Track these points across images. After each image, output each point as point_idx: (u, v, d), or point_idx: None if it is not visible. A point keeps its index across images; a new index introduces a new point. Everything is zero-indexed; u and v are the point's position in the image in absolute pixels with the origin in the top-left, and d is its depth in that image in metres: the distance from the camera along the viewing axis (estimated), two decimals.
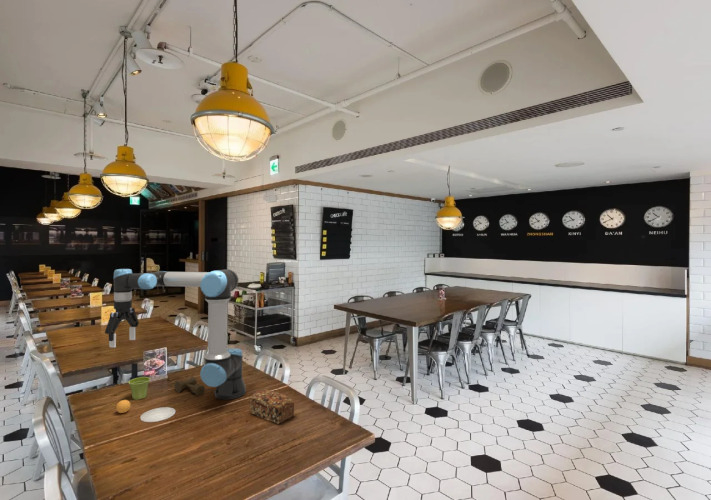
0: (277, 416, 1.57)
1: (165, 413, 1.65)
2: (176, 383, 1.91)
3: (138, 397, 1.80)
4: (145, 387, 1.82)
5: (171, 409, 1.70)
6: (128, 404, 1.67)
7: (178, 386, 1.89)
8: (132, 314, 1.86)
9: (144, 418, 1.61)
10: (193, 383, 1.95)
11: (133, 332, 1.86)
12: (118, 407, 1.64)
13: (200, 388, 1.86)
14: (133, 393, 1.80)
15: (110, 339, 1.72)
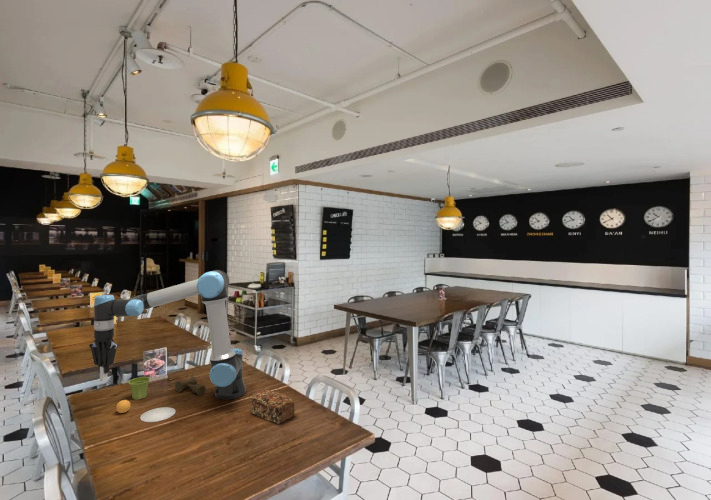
0: (277, 415, 1.57)
1: (165, 413, 1.65)
2: (177, 383, 1.91)
3: (138, 397, 1.80)
4: (145, 387, 1.82)
5: (171, 409, 1.70)
6: (128, 404, 1.67)
7: (179, 386, 1.89)
8: (96, 349, 1.68)
9: (144, 418, 1.61)
10: (193, 383, 1.95)
11: None
12: (118, 407, 1.64)
13: (201, 388, 1.87)
14: (133, 393, 1.80)
15: (107, 371, 1.67)
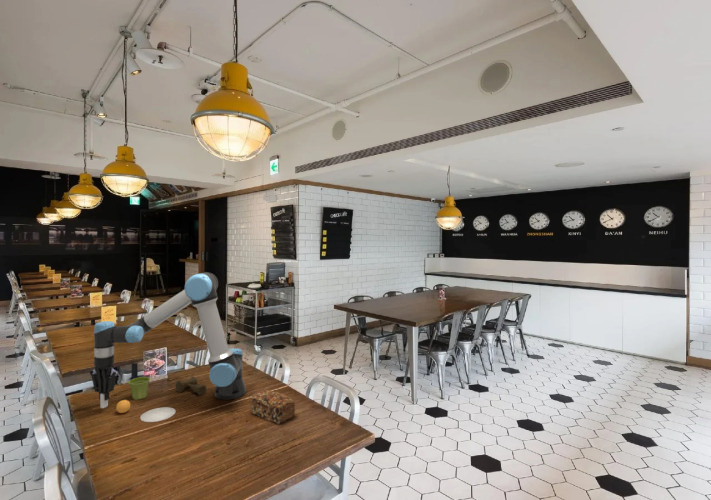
0: (277, 415, 1.57)
1: (165, 413, 1.65)
2: (177, 383, 1.90)
3: (138, 397, 1.80)
4: (145, 387, 1.82)
5: (171, 409, 1.70)
6: (128, 404, 1.67)
7: (180, 386, 1.89)
8: None
9: (144, 418, 1.61)
10: (194, 383, 1.96)
11: None
12: (118, 407, 1.64)
13: (202, 388, 1.87)
14: (133, 393, 1.80)
15: (108, 398, 1.68)
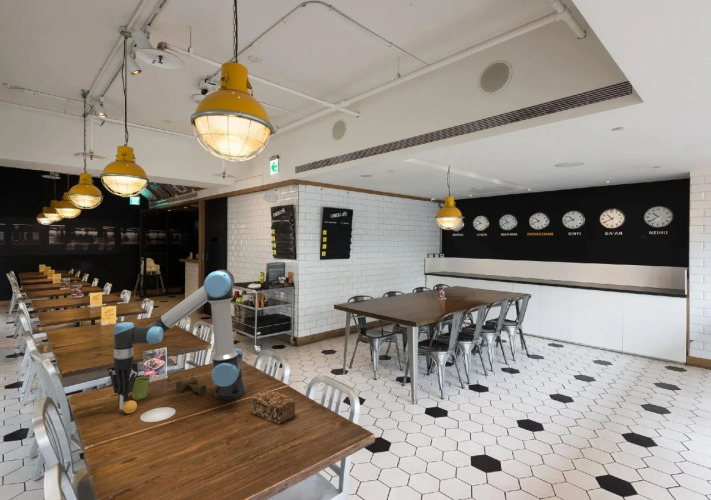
0: (277, 415, 1.57)
1: (165, 413, 1.65)
2: (177, 383, 1.90)
3: (138, 397, 1.80)
4: (145, 387, 1.82)
5: (171, 409, 1.70)
6: (135, 408, 1.66)
7: (180, 386, 1.89)
8: (116, 376, 1.68)
9: (144, 418, 1.61)
10: (194, 383, 1.96)
11: None
12: (126, 407, 1.64)
13: (203, 387, 1.87)
14: (133, 393, 1.80)
15: (127, 399, 1.67)
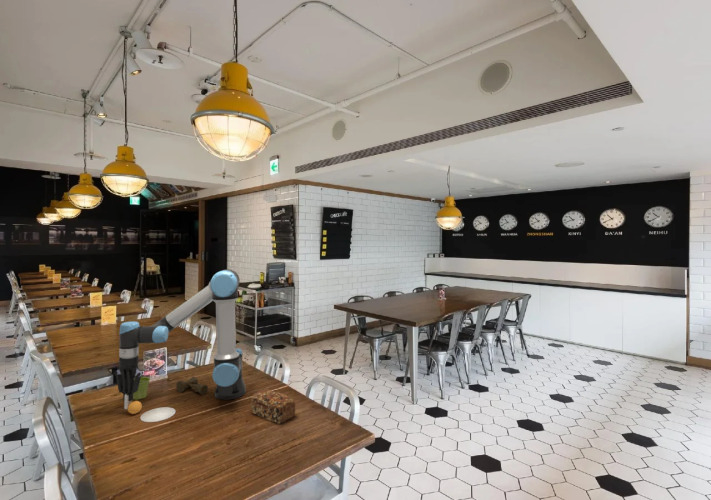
0: (277, 415, 1.57)
1: (165, 413, 1.65)
2: (178, 383, 1.90)
3: (138, 397, 1.80)
4: (145, 387, 1.82)
5: (171, 409, 1.70)
6: None
7: (181, 386, 1.89)
8: (121, 376, 1.67)
9: (144, 418, 1.61)
10: (195, 383, 1.96)
11: None
12: (131, 408, 1.63)
13: (204, 387, 1.88)
14: (133, 393, 1.80)
15: (132, 398, 1.66)
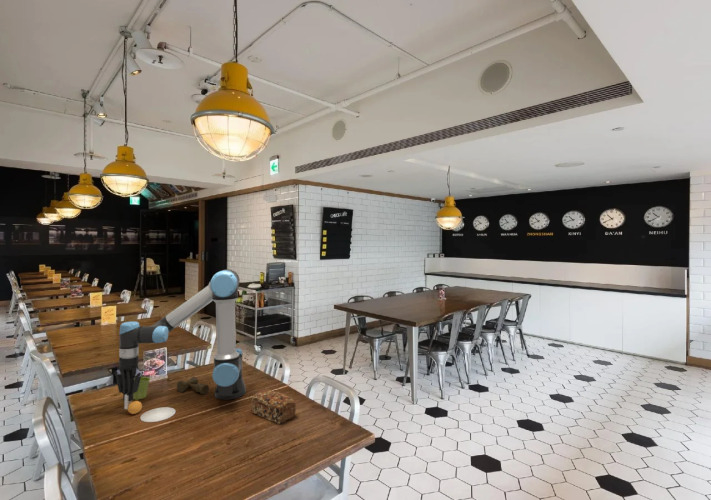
0: (278, 415, 1.57)
1: (165, 413, 1.65)
2: (179, 383, 1.90)
3: (138, 397, 1.80)
4: (145, 387, 1.82)
5: (171, 409, 1.70)
6: None
7: (182, 386, 1.89)
8: (121, 376, 1.67)
9: (144, 418, 1.61)
10: (195, 383, 1.96)
11: None
12: (131, 408, 1.63)
13: (205, 387, 1.88)
14: (133, 393, 1.80)
15: (132, 399, 1.66)
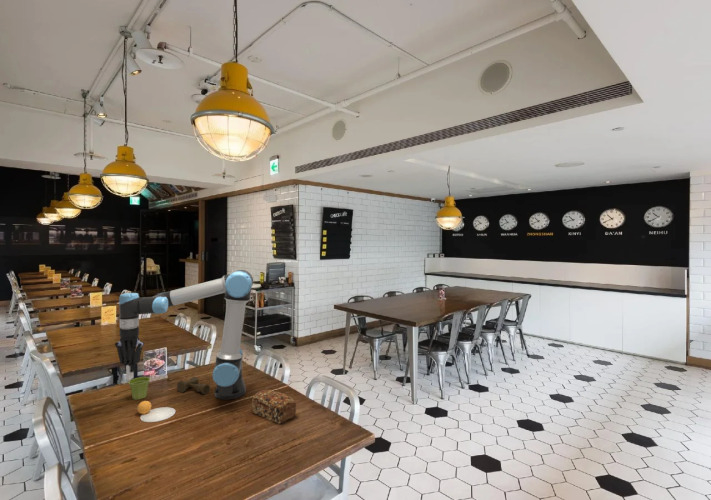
0: (278, 415, 1.57)
1: (165, 413, 1.65)
2: (179, 383, 1.90)
3: (138, 397, 1.80)
4: (145, 387, 1.82)
5: (171, 409, 1.70)
6: None
7: (182, 386, 1.89)
8: (122, 347, 1.67)
9: (144, 418, 1.61)
10: (195, 382, 1.96)
11: None
12: (142, 410, 1.63)
13: (206, 387, 1.88)
14: (133, 393, 1.80)
15: (133, 369, 1.66)
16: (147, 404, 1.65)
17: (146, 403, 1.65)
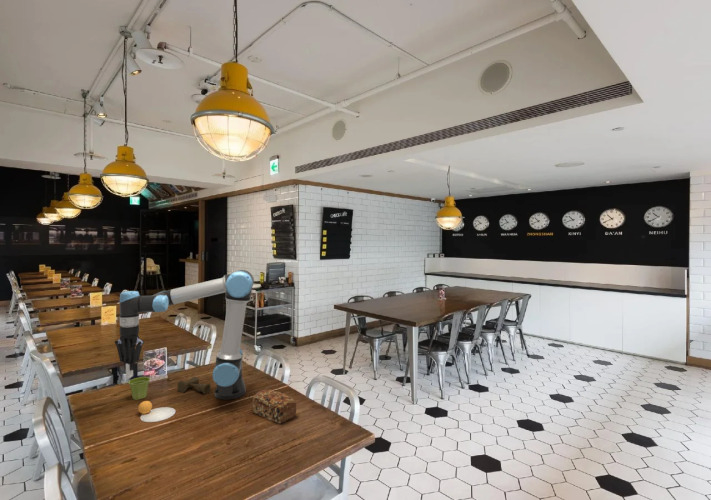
0: (278, 415, 1.57)
1: (165, 413, 1.65)
2: (180, 383, 1.90)
3: (138, 397, 1.80)
4: (145, 387, 1.82)
5: (171, 409, 1.70)
6: None
7: (183, 386, 1.89)
8: (122, 345, 1.67)
9: (144, 418, 1.61)
10: (196, 382, 1.96)
11: None
12: (143, 410, 1.63)
13: (207, 386, 1.89)
14: (133, 393, 1.80)
15: (133, 368, 1.66)
16: (148, 405, 1.65)
17: (147, 403, 1.65)
